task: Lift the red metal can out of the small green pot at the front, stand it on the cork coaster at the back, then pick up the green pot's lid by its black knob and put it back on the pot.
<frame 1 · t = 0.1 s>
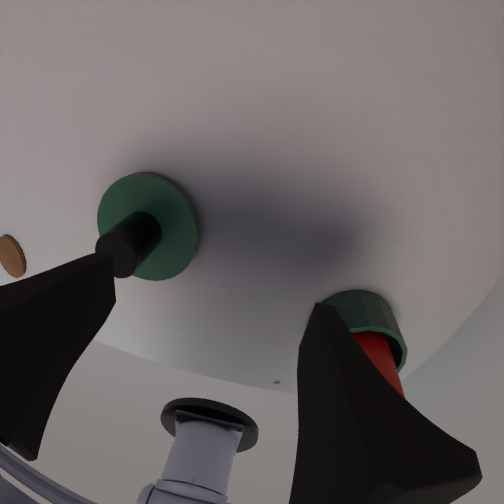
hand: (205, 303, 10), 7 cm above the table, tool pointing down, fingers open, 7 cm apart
can: (351, 332, 18), resting on green pot
coaster: (12, 255, 20), on the table
green pot: (350, 327, 18), on the table
lid: (146, 227, 16), point 1 cm above the table
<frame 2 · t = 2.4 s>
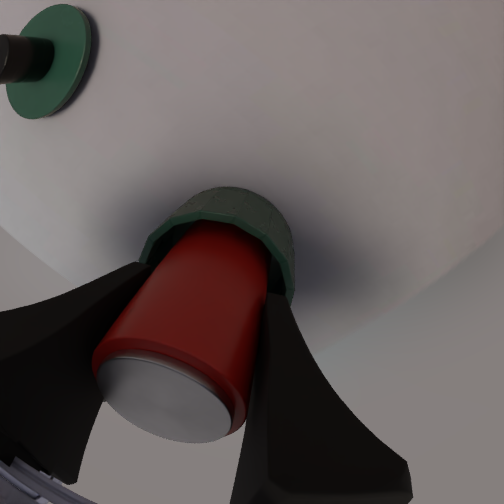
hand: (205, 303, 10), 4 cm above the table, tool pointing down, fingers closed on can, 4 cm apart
can: (226, 252, 13), point 1 cm above the table, touching green pot, gripper
green pot: (229, 248, 14), on the table
lid: (45, 60, 10), point 1 cm above the table
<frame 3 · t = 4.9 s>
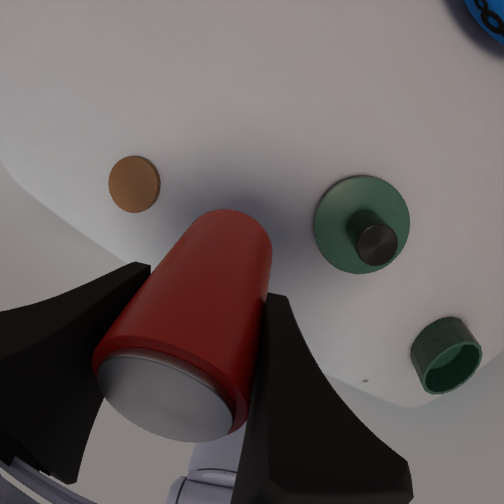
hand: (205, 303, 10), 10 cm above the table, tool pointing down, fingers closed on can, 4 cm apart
can: (227, 251, 13), point 7 cm above the table, touching gripper
coaster: (134, 183, 20), on the table
green pot: (439, 344, 22), on the table
ornament: (482, 13, 11), on the table
lid: (362, 225, 18), point 1 cm above the table
when the fingers open (4 cm above the table, at t = 7.7 s): can stays where it is, resting on coaster.
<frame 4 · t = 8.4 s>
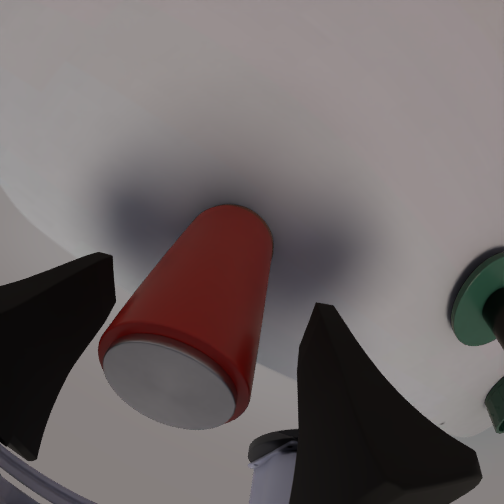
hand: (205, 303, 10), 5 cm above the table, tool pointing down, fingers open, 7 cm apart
can: (228, 247, 14), resting on coaster
lid: (493, 300, 13), point 1 cm above the table
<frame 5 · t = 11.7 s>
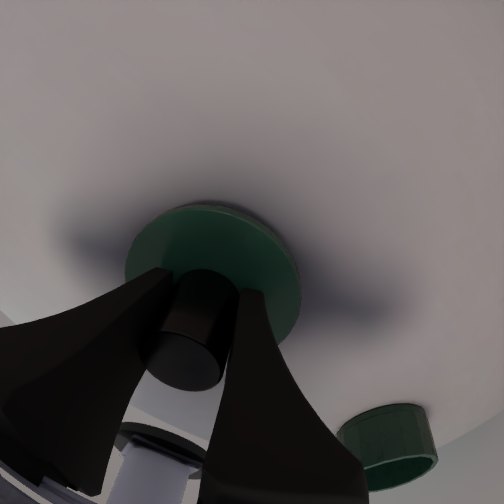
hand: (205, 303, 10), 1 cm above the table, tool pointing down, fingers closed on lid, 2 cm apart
green pot: (382, 429, 15), on the table
lid: (210, 290, 11), point 1 cm above the table, touching gripper
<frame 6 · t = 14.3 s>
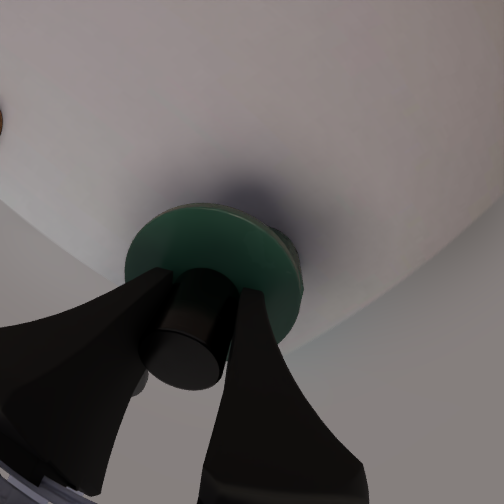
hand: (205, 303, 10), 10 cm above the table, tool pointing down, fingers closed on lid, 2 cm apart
green pot: (257, 265, 21), on the table
lid: (209, 289, 11), point 10 cm above the table, touching gripper
when the fingers open (4 cm above the table, at t = 16.7 s): lid stays where it is, resting on green pot.
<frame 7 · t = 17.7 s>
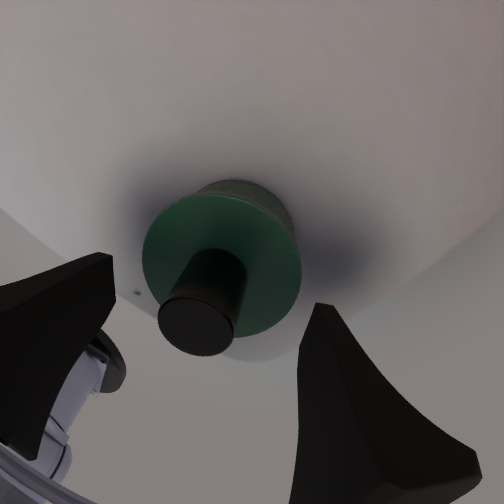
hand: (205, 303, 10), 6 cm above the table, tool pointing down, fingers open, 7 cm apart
green pot: (235, 236, 15), on the table
lid: (219, 269, 12), point 3 cm above the table, touching green pot
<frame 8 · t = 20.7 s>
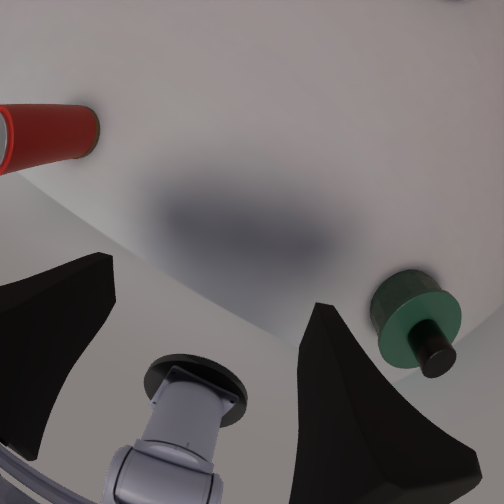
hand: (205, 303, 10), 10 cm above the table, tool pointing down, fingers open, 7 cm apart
can: (75, 131, 18), resting on coaster
coaster: (79, 132, 18), on the table
green pot: (404, 304, 21), on the table
lid: (420, 329, 17), point 3 cm above the table, touching green pot
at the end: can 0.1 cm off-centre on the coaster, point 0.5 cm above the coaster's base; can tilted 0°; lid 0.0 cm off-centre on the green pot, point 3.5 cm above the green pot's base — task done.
